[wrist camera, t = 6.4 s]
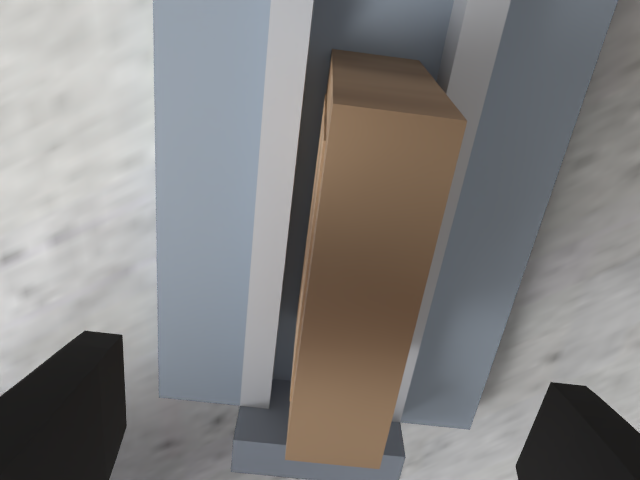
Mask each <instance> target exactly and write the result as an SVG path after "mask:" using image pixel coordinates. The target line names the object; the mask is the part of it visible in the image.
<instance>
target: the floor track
mask: <svg viewBox="0 0 640 480" xmlns="http://www.w3.org/2000/svg"><path fill="white" fill-rule="evenodd" d="M617 2H618V0H153V32H154V98H155V164H156V231H157V297H158V363H159V397H160V398H170V399H180V400H189V401H199V402H208V403H218V404H228V405H237V406H240V408H239V413H238V418H237V423H236V428H235V434H234V439H233V450H232V464H231V472H237V473H248V474H258V475H268V476H278V477H288V478H299V479H309V480H399V478H400V474H401V471H402V467H403V464H404V460H405V452H404V445H403V438H402V431H401V425H400V422H402V423H411V424H421V425H431V426H440V427H450V428H460V429H469V430H470V427H471V425H472V422H473V419H474V416H475V413H476V410H477V407H478V404H479V401H480V399H481V396H482V393H483V390H484V387H485V384H486V381H487V378H488V375H489V372H490V370H491V367H492V364H493V361H494V358H495V355H496V352H497V349H498V346H499V344H500V341H501V338H502V335H503V332H504V329H505V326H506V323H507V320H508V317H509V315H510V312H511V309H512V306H513V303H514V300H515V297H516V294H517V291H518V289H519V286H520V283H521V280H522V277H523V274H524V271H525V268H526V265H527V262H528V260H529V257H530V254H531V251H532V248H533V245H534V242H535V239H536V236H537V234H538V231H539V228H540V225H541V222H542V219H543V216H544V213H545V210H546V207H547V205H548V202H549V199H550V196H551V193H552V190H553V187H554V184H555V181H556V179H557V176H558V173H559V170H560V167H561V164H562V161H563V158H564V155H565V152H566V150H567V147H568V144H569V141H570V138H571V135H572V132H573V129H574V126H575V124H576V121H577V118H578V115H579V112H580V109H581V106H582V103H583V100H584V98H585V95H586V92H587V89H588V86H589V83H590V80H591V77H592V74H593V71H594V69H595V66H596V63H597V60H598V57H599V54H600V51H601V48H602V45H603V43H604V40H605V37H606V34H607V31H608V28H609V25H610V22H611V19H612V16H613V14H614V11H615V8H616V5H617ZM332 49H337V50H345V51H353V52H360V53H368V54H375V55H383V56H390V57H398V58H405V59H413V60H419V61H420V62H421V63H422V65H423V66H424V67H425V68H426V70H427V71H428V72H429V73H430V75H431V76H432V77H433V78H434V80H435V81H436V82H437V83H438V85H439V86H440V87H441V88H442V90H443V91H444V92H445V93H446V95H447V96H448V97H449V98H450V100H451V101H452V102H453V103H454V105H455V106H456V107H457V108H458V110H459V111H460V112H461V113H462V115H463V116H464V117H465V118H466V120H467V124H466V128H465V132H464V136H463V140H462V144H461V148H460V152H459V156H458V160H457V164H456V168H455V172H454V176H453V180H452V184H451V188H450V192H449V196H448V200H447V204H446V208H445V212H444V216H443V220H442V224H441V227H440V231H439V235H438V239H437V243H436V247H435V251H434V255H433V259H432V263H431V267H430V271H429V275H428V279H427V283H426V287H425V291H424V295H423V299H422V303H421V307H420V311H419V315H418V319H417V323H416V327H415V331H414V335H413V339H412V342H411V346H410V350H409V354H408V358H407V362H406V366H405V370H404V374H403V378H402V382H401V386H400V390H399V394H398V398H397V402H396V406H395V410H394V414H393V418H392V422H391V426H390V430H389V434H388V438H387V442H386V446H385V450H384V453H383V457H382V461H381V465H380V469H371V468H361V467H351V466H341V465H331V464H321V463H311V462H301V461H291V460H285V453H286V441H287V430H288V419H289V407H290V401H289V400H290V388H291V377H292V366H293V355H294V344H295V333H296V321H297V311H298V303H299V295H300V287H301V279H302V271H303V264H304V256H305V248H306V240H307V232H308V224H309V216H310V209H311V201H312V193H313V185H314V177H315V169H316V162H317V154H318V146H319V138H320V130H321V122H322V115H323V107H324V99H325V94H326V91H327V83H328V76H329V68H330V60H331V52H332Z"/></svg>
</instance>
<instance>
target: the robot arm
mask: <svg viewBox="0 0 640 480" xmlns="http://www.w3.org/2000/svg"><path fill="white" fill-rule="evenodd" d="M126 426H127V425H126V403H125V382H124V360H123V339H122V335H118V334H109V333H100V332H91V331H84V332H83V333H81V334H80V335H79V336H77V337H76V338H75V339H73V340H72V341H71V342H69V343H68V344H67V345H65V346H64V347H63V348H62V349H60V350H59V351H58V352H56V353H55V354H54V355H53V356H51V357H50V358H49V359H48V360H46V361H45V362H44V363H43V364H41V365H40V366H39V367H38V368H36V369H35V370H34V371H32V372H31V373H30V374H29V375H27V376H26V377H25V378H24V379H22V380H21V381H20V382H18V383H17V384H16V385H15V386H13V387H12V388H11V389H9V390H8V391H7V392H5V393H4V394H3V395H1V396H0V480H109V478H110V475H111V472H112V469H113V466H114V464H115V461H116V458H117V454H118V451H119V448H120V445H121V442H122V439H123V436H124V432H125V429H126ZM516 470H517V475H518V480H640V433H639V432H638V431H637V430H635V429H634V428H633V427H632V426H631V425H630V424H629V423H628V422H627V421H626V420H624V419H623V418H622V417H621V416H620V415H619V414H618V413H617V412H616V411H614V410H613V409H612V408H611V407H610V406H609V405H608V404H607V403H605V402H604V401H603V400H602V399H601V398H600V397H599V396H597V395H596V394H595V393H594V392H592V391H591V390H590V389H589V388H588V387H586V386H581V385H572V384H562V383H553V382H551V383H550V385H549V388H548V390H547V393H546V395H545V397H544V400H543V402H542V404H541V407H540V409H539V412H538V414H537V416H536V419H535V421H534V423H533V426H532V428H531V431H530V433H529V435H528V438H527V440H526V442H525V445H524V447H523V450H522V452H521V454H520V457H519V459H518V461H517V464H516Z"/></svg>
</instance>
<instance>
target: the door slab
mask: <svg viewBox="0 0 640 480" xmlns="http://www.w3.org/2000/svg"><path fill="white" fill-rule="evenodd" d="M466 124H467V120H466V118H465V117H464V116H463V115H462V113H461V112H460V111H459V110H458V108H457V107H456V106H455V105H454V103H453V102H452V101H451V100H450V98H449V97H448V96H447V95H446V93H445V92H444V91H443V90H442V88H441V87H440V86H439V85H438V83H437V82H436V81H435V80H434V78H433V77H432V76H431V75H430V73H429V72H428V71H427V70H426V68H425V67H424V66H423V65H422V63H421V62H420V61H419V60H413V59H405V58H398V57H390V56H383V55H375V54H368V53H360V52H353V51H345V50H337V49H332V52H331V60H330V68H329V76H328V83H327V91H326V94H325V99H324V107H323V115H322V122H321V130H320V138H319V146H318V154H317V162H316V169H315V177H314V185H313V193H312V201H311V209H310V216H309V224H308V232H307V240H306V248H305V256H304V264H303V271H302V279H301V287H300V295H299V303H298V311H297V321H296V333H295V344H294V355H293V366H292V377H291V388H290V400H289V401H290V407H289V419H288V430H287V441H286V453H285V460H291V461H301V462H311V463H321V464H331V465H341V466H351V467H361V468H371V469H380V465H381V461H382V457H383V453H384V450H385V446H386V442H387V438H388V434H389V430H390V426H391V422H392V418H393V414H394V410H395V406H396V402H397V398H398V394H399V390H400V386H401V382H402V378H403V374H404V370H405V366H406V362H407V358H408V354H409V350H410V346H411V342H412V339H413V335H414V331H415V327H416V323H417V319H418V315H419V311H420V307H421V303H422V299H423V295H424V291H425V287H426V283H427V279H428V275H429V271H430V267H431V263H432V259H433V255H434V251H435V247H436V243H437V239H438V235H439V231H440V227H441V224H442V220H443V216H444V212H445V208H446V204H447V200H448V196H449V192H450V188H451V184H452V180H453V176H454V172H455V168H456V164H457V160H458V156H459V152H460V148H461V144H462V140H463V136H464V132H465V128H466Z"/></svg>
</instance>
